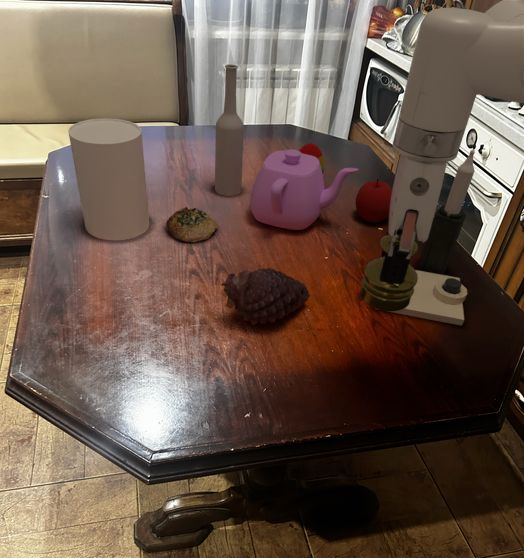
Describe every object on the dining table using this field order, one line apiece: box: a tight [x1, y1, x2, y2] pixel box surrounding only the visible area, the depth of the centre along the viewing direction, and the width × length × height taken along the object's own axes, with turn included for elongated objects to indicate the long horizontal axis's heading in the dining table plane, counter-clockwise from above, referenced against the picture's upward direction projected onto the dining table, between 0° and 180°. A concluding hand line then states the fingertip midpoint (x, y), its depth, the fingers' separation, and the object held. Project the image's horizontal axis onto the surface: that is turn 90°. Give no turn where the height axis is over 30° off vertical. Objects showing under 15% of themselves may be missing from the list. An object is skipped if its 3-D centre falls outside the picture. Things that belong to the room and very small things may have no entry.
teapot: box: [249, 148, 359, 231], centre depth 113 cm, size 23×21×15 cm
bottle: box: [214, 63, 245, 197], centre depth 119 cm, size 7×7×28 cm
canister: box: [67, 117, 150, 241], centre depth 105 cm, size 14×14×20 cm
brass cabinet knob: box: [359, 235, 419, 312], centre depth 71 cm, size 7×7×10 cm
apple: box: [355, 178, 393, 224], centre depth 119 cm, size 9×9×10 cm
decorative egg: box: [298, 142, 325, 175], centre depth 131 cm, size 8×8×10 cm
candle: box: [416, 149, 476, 275], centre depth 99 cm, size 5×5×25 cm
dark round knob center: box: [443, 278, 463, 294], centre depth 97 cm, size 3×3×2 cm
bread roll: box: [165, 206, 219, 243], centre depth 111 cm, size 11×11×5 cm
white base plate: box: [374, 269, 468, 326], centre depth 99 cm, size 16×14×3 cm
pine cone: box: [220, 267, 311, 326], centre depth 89 cm, size 18×10×10 cm
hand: (391, 268), depth 71 cm, fingers closed on brass cabinet knob, 5 cm apart
